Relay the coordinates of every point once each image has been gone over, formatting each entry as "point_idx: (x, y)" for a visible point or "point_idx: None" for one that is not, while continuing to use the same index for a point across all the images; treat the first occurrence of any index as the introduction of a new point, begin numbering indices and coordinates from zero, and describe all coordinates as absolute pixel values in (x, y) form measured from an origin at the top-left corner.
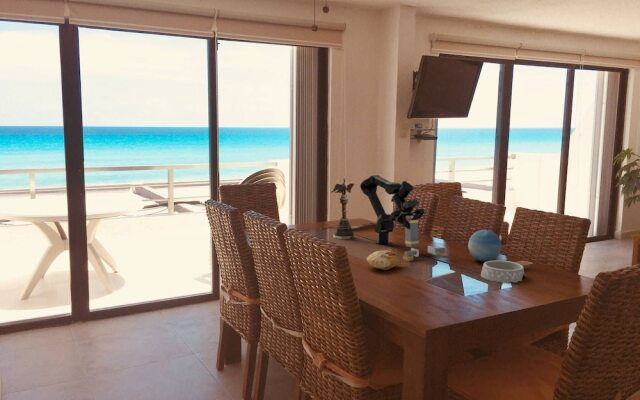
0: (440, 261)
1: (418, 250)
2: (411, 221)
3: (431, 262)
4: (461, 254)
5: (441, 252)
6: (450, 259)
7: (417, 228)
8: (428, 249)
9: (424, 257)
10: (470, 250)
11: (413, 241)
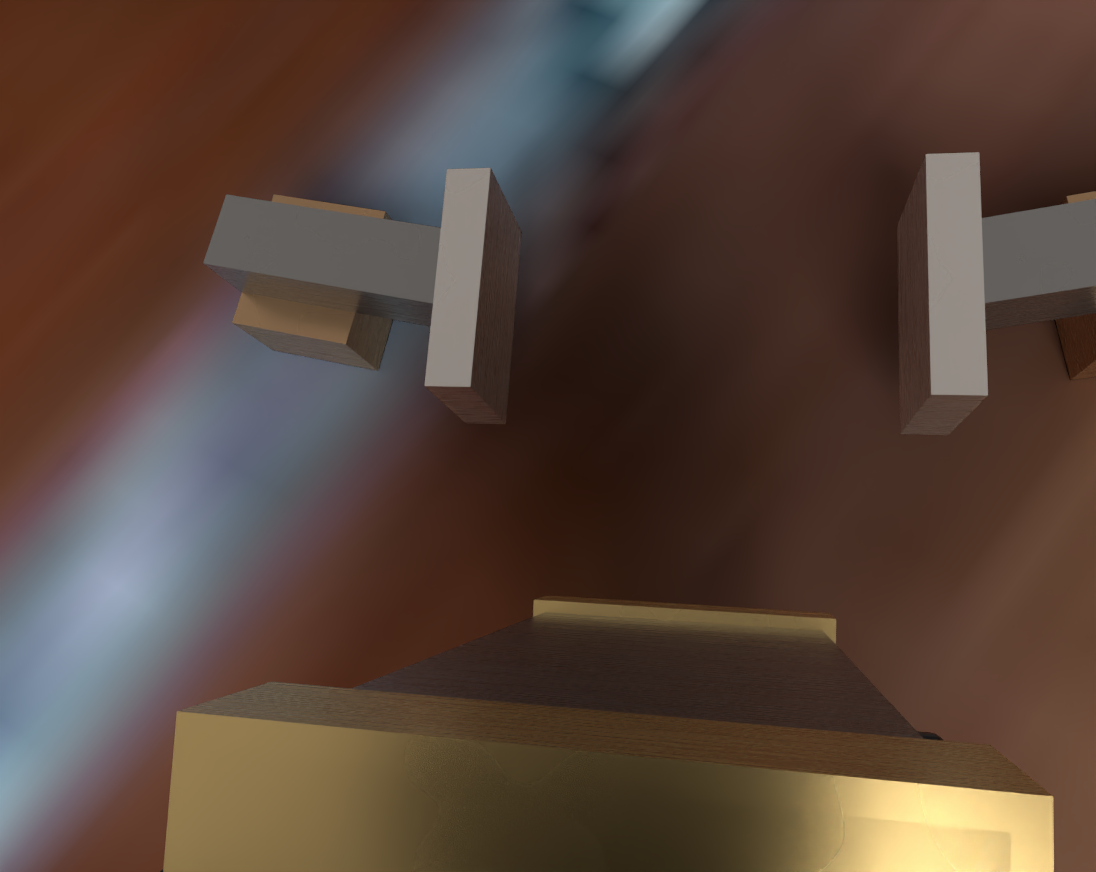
0: (617, 11)
1: (934, 160)
2: (855, 759)
3: (800, 9)
4: (9, 240)
5: (356, 208)
6: (386, 55)
7: (457, 660)
8: (491, 380)
9: (677, 335)
10: None
11: (736, 610)
